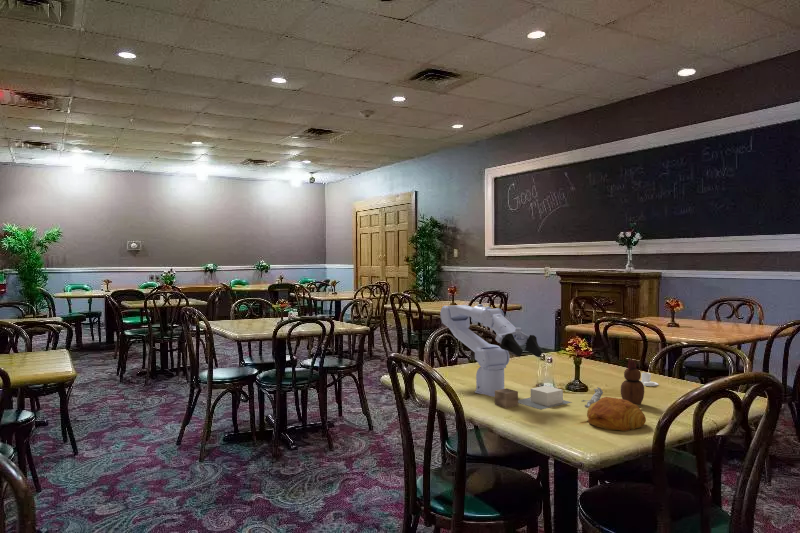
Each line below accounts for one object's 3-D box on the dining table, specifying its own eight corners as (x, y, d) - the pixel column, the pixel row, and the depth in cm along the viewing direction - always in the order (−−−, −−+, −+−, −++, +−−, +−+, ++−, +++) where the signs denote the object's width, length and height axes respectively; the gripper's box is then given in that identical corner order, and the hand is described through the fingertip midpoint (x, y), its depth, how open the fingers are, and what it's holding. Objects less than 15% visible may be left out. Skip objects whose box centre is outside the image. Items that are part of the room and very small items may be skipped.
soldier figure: (577, 411, 174) (580, 390, 184) (589, 421, 174) (592, 400, 184) (595, 396, 170) (597, 376, 180) (608, 407, 170) (609, 386, 180)
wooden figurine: (629, 407, 173) (629, 358, 173) (617, 402, 179) (617, 355, 178) (648, 405, 175) (647, 357, 175) (635, 401, 181) (635, 354, 180)
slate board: (512, 403, 180) (512, 401, 180) (543, 396, 188) (543, 394, 188) (540, 411, 170) (540, 409, 170) (572, 404, 178) (572, 402, 178)
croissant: (605, 421, 167) (602, 393, 168) (655, 426, 155) (651, 396, 156) (574, 429, 159) (571, 400, 160) (625, 435, 146) (621, 403, 147)
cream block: (530, 401, 180) (530, 388, 180) (545, 398, 184) (545, 385, 184) (547, 406, 174) (547, 393, 174) (562, 402, 178) (562, 389, 178)
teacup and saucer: (655, 388, 198) (654, 377, 198) (631, 385, 203) (631, 374, 203) (661, 384, 205) (660, 372, 205) (637, 381, 210) (637, 370, 210)
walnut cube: (494, 406, 177) (494, 390, 177) (506, 404, 180) (506, 388, 180) (506, 410, 173) (506, 393, 173) (518, 407, 175) (517, 391, 175)
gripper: (493, 318, 180) (516, 341, 169) (528, 322, 186) (553, 344, 175) (485, 337, 182) (508, 361, 171) (520, 340, 189) (544, 363, 178)
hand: (530, 354), depth 173 cm, fingers open, 7 cm apart
